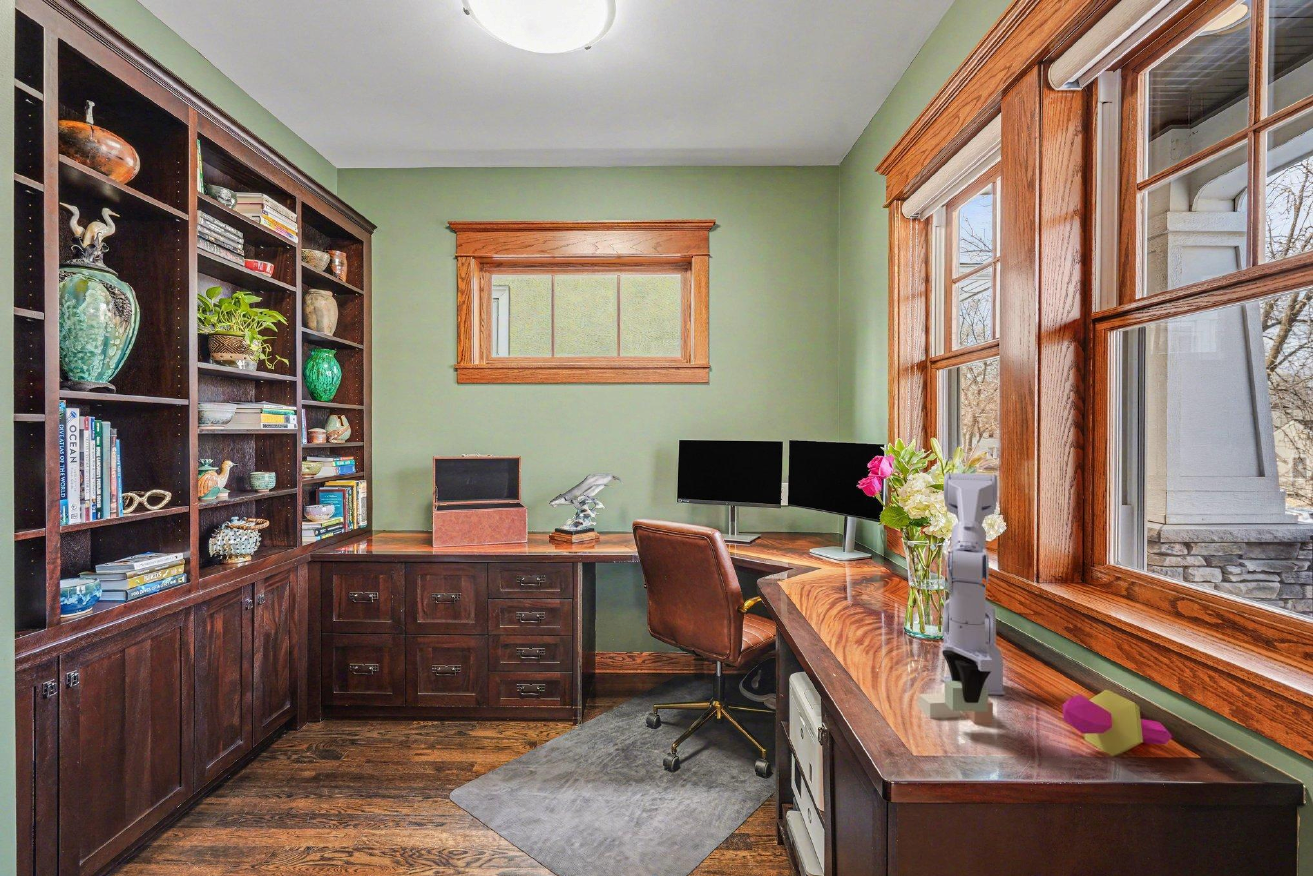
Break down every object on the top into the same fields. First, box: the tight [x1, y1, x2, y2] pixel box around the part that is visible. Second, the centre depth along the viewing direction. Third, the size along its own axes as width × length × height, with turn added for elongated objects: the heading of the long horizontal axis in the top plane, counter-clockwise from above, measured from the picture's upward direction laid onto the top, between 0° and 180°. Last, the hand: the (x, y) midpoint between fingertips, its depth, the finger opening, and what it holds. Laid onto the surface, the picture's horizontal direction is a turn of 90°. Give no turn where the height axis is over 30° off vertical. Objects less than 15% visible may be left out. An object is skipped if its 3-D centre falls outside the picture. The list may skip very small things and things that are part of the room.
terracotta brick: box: [961, 698, 994, 726], centre depth 118 cm, size 6×3×4 cm, turn 178°
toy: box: [1062, 689, 1173, 757], centre depth 106 cm, size 10×18×10 cm, turn 97°
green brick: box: [944, 681, 989, 712], centre depth 112 cm, size 6×3×4 cm, turn 88°
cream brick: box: [918, 692, 962, 719], centre depth 120 cm, size 6×4×3 cm, turn 97°
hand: (966, 697), depth 112 cm, fingers closed on green brick, 3 cm apart
